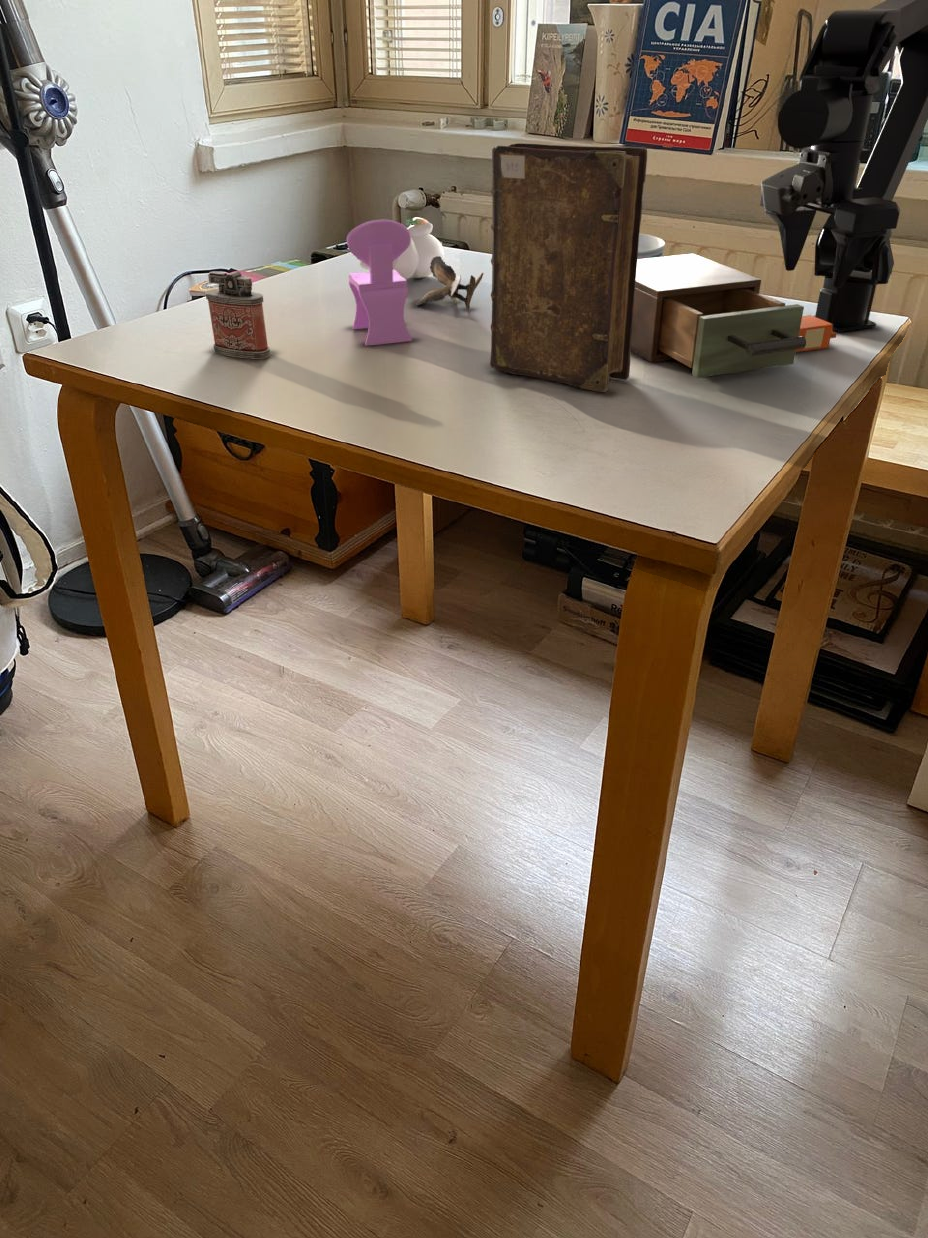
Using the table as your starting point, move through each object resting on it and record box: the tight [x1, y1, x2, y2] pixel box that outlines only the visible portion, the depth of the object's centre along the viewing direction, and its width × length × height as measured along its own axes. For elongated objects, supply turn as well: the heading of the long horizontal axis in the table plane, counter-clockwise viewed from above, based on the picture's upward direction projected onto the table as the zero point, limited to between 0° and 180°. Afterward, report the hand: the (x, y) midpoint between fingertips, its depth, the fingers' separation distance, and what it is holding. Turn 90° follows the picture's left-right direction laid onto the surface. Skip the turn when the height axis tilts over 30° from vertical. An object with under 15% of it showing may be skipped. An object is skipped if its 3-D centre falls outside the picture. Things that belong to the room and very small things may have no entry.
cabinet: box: [631, 253, 762, 363], centre depth 123 cm, size 16×15×9 cm
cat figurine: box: [359, 216, 445, 281], centre depth 151 cm, size 10×8×15 cm
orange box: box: [796, 314, 837, 353], centre depth 121 cm, size 5×7×3 cm
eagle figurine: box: [415, 256, 485, 311], centre depth 138 cm, size 8×7×9 cm
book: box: [489, 142, 648, 393], centre depth 107 cm, size 17×7×25 cm, turn 54°
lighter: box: [204, 270, 271, 360], centre depth 119 cm, size 8×3×10 cm, turn 65°
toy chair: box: [346, 218, 413, 347], centre depth 124 cm, size 8×9×15 cm
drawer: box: [658, 288, 806, 379], centre depth 113 cm, size 20×13×7 cm
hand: (812, 278), depth 118 cm, fingers open, 9 cm apart
